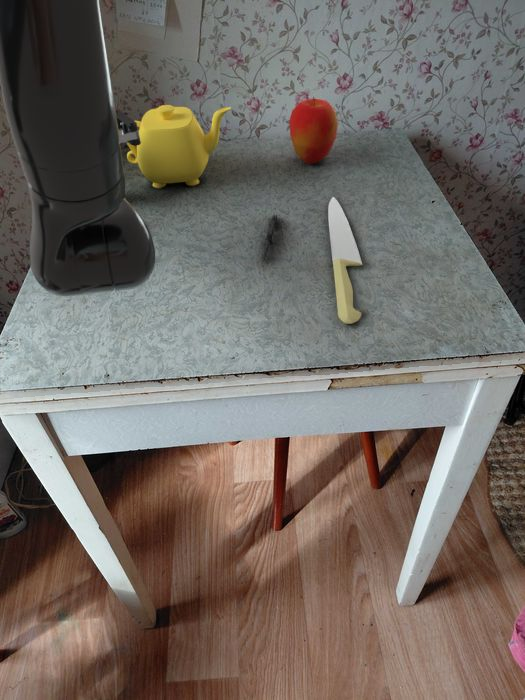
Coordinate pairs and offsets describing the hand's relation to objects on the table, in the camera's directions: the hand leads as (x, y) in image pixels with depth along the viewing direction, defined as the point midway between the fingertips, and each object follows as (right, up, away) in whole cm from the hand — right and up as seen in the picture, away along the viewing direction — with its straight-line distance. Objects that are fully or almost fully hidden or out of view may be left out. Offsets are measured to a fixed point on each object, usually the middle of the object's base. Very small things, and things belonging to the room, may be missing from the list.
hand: (80, 112), depth 70 cm
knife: (+37, -17, +13) cm, 42 cm away
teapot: (+9, +2, +32) cm, 33 cm away
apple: (+34, +6, +34) cm, 48 cm away
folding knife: (+25, -14, +15) cm, 33 cm away
